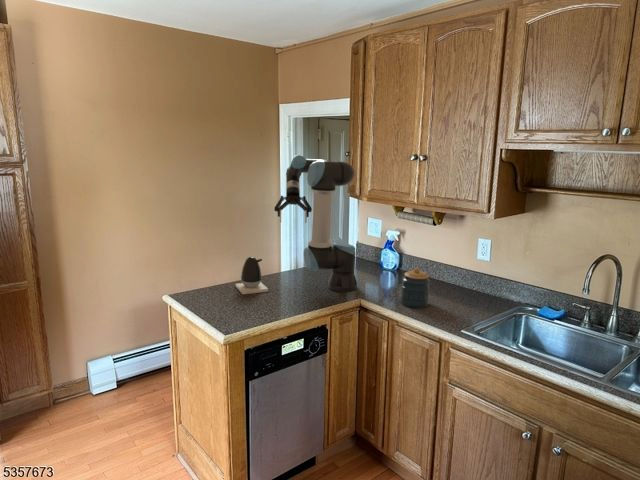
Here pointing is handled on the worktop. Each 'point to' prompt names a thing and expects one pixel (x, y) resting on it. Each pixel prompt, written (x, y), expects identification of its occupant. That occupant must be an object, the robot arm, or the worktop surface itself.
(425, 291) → the canister
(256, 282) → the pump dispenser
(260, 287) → the tile pad
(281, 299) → the worktop surface
